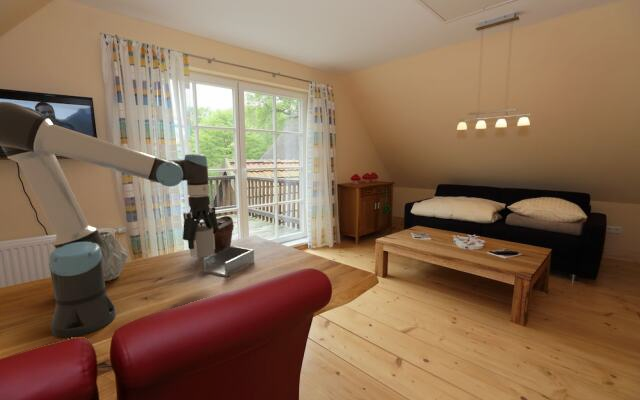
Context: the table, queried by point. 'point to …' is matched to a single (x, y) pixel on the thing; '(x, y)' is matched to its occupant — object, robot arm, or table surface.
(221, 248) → the case
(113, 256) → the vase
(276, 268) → the table surface
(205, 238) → the cup
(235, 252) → the silver open box
